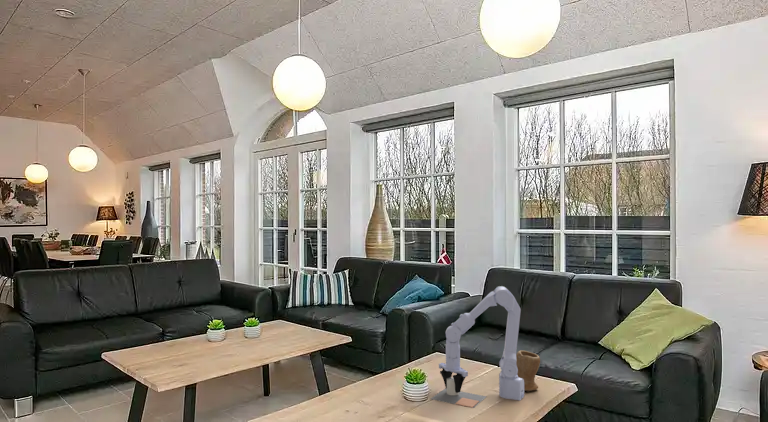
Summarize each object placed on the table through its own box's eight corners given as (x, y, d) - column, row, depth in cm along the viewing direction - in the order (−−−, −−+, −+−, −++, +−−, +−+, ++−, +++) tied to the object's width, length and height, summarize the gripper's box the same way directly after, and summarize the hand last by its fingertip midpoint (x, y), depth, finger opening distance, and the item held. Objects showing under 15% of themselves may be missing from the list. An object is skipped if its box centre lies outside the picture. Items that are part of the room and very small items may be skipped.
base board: (486, 399, 202) (486, 396, 202) (473, 411, 190) (473, 408, 190) (445, 391, 211) (445, 388, 211) (430, 401, 199) (430, 398, 199)
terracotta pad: (479, 401, 196) (479, 401, 196) (472, 407, 190) (472, 406, 190) (462, 398, 200) (462, 397, 200) (455, 404, 194) (455, 403, 194)
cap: (461, 393, 205) (461, 379, 205) (453, 396, 202) (453, 381, 202) (452, 390, 209) (452, 376, 209) (444, 392, 206) (444, 378, 206)
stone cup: (546, 390, 212) (546, 354, 212) (521, 394, 208) (521, 357, 208) (524, 379, 226) (524, 345, 226) (501, 382, 222) (501, 348, 222)
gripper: (433, 354, 209) (433, 387, 209) (458, 362, 198) (459, 397, 197) (445, 351, 213) (445, 383, 213) (471, 359, 202) (471, 393, 202)
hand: (452, 390), depth 206 cm, fingers closed on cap, 5 cm apart
